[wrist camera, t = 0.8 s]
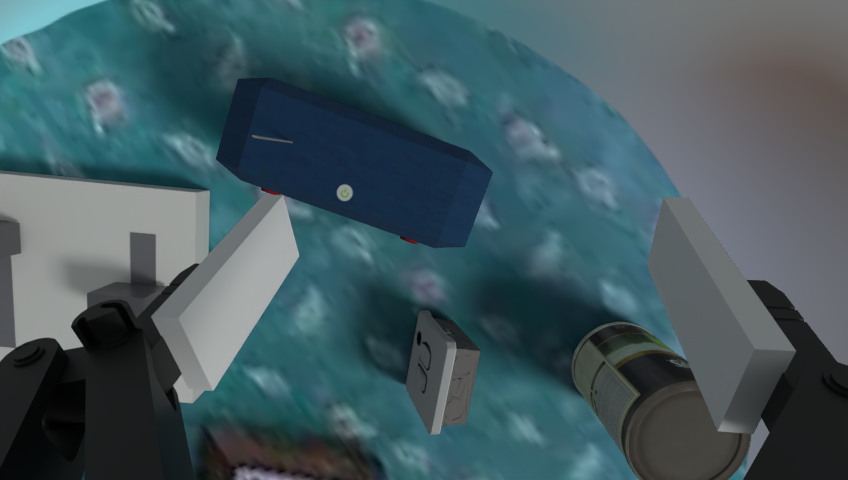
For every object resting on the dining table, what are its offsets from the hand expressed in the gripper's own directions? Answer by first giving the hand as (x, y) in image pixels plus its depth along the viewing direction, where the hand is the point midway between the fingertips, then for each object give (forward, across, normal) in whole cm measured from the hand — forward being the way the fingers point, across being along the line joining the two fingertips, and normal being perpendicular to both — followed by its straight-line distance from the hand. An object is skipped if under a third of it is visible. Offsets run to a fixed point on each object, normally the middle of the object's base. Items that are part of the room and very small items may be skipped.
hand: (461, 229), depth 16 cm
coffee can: (+24, -14, +32) cm, 43 cm away
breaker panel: (+19, +41, +19) cm, 49 cm away
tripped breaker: (+17, +34, +19) cm, 42 cm away
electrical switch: (+22, +5, +29) cm, 37 cm away
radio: (+28, +12, +10) cm, 33 cm away
